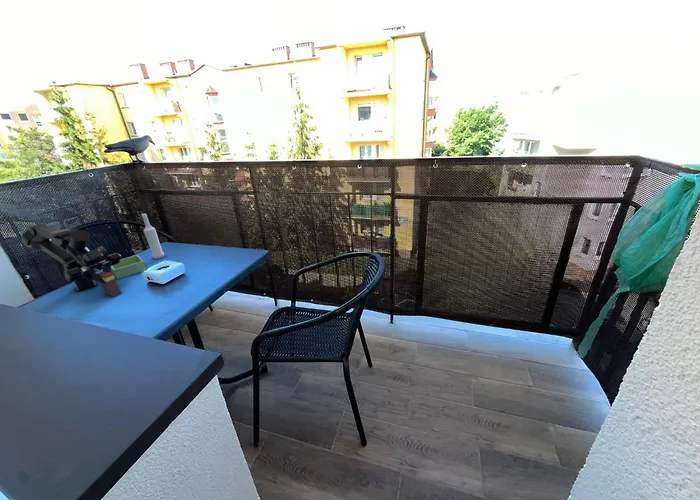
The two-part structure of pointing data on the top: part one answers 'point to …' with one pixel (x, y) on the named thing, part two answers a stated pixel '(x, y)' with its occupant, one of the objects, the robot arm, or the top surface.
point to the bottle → (152, 239)
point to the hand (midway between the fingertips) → (109, 281)
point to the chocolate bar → (109, 284)
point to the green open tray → (128, 266)
